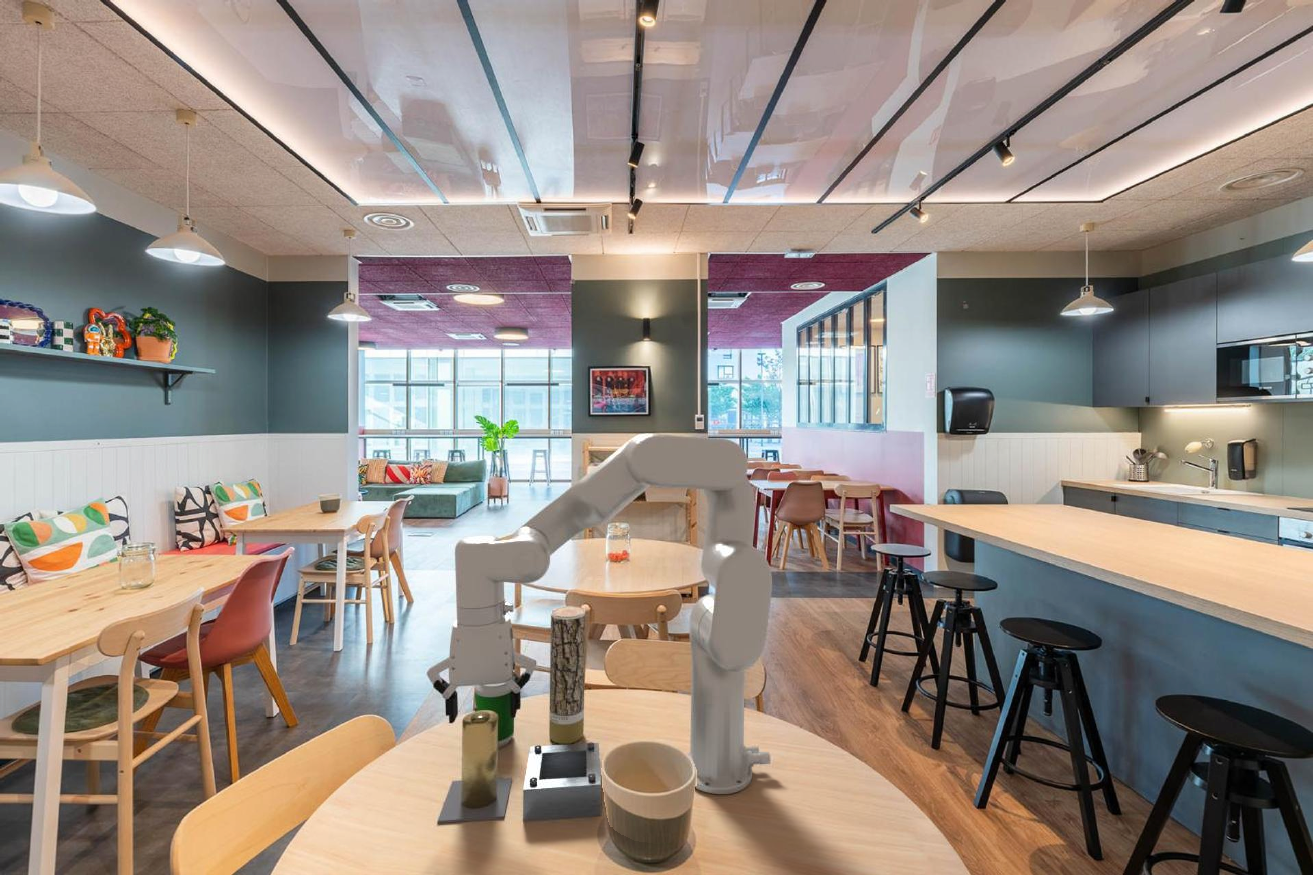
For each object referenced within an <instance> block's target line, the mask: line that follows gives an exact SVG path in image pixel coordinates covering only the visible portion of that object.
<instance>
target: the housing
mask: <svg viewBox="0 0 1313 875" xmlns="http://www.w3.org/2000/svg"><path fill="white" fill-rule="evenodd" d="M529 748H530V749H529V754H528V760H527V766H526V773H525V779H524V783H523V788H522V789H523V791H522V793H523V794H522V795H523V796H522V806H523V807H522V822H535V821H536V822H537V821H549V820H550V821H551V820H563V819H575V818H577V819H578V818H589V817H590V818H591V817H600V816H601V810H602V809H601V806H602V805H601V801H602V800H601V799H602V797H601V796H602V795H601V794H602V793H601V792H602V791H601V790H602V781H601V779H602V778H601V763H600V762H601V759H600V743H599V742H593V741H592V742H586V743H571V744H554V745H540V744H539V745H535V746H530V747H529Z"/></svg>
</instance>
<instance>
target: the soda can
mask: <svg viewBox="0 0 1313 875" xmlns="http://www.w3.org/2000/svg"><path fill="white" fill-rule="evenodd" d="M510 693H511V689H510V687H509V686H508V685H507V684H506V683H498V684H487V685H475V688H474V712H476V711H481V710H489V711H493V712H495V713H497V714H498V749H499V748H502V747H504V746H506V745H507V744H508V743H509V742H510V740H511V739H512V738H513V736H514V735H515V718H512V717H511V715H510Z"/></svg>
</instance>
